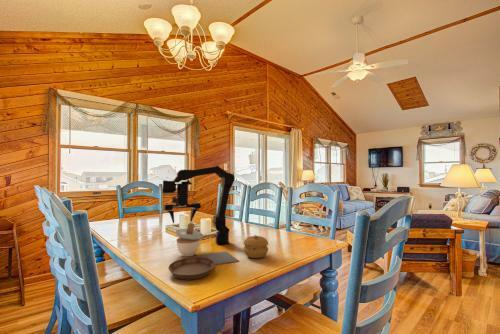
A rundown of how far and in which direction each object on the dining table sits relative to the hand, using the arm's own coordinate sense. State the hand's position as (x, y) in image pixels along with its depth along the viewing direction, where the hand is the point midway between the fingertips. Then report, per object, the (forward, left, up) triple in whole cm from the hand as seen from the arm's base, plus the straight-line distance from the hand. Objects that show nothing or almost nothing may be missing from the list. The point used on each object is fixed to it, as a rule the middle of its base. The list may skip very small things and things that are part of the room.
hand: (182, 222), depth 139 cm
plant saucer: (+4, +38, -13) cm, 40 cm away
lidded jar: (0, +15, -13) cm, 20 cm away
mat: (-10, +26, -13) cm, 31 cm away
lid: (0, +15, -3) cm, 15 cm away
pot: (-28, +31, -13) cm, 44 cm away
